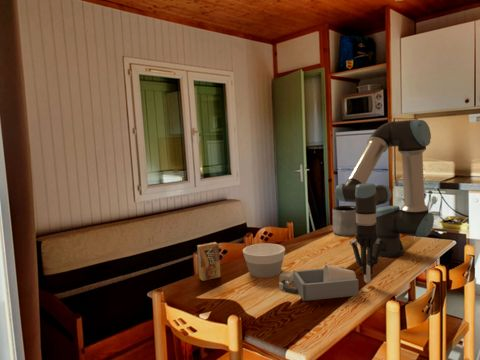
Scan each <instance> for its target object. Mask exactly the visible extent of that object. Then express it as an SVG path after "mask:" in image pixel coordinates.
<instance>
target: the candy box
mask: <svg viewBox="0 0 480 360" xmlns="http://www.w3.org/2000/svg"><path fill="white" fill-rule="evenodd" d="M219 245H220V244H219V243H217V242H216V241H214V242H209V243H203V244H198V245H196V248H197V250H196V251H197V265H198V266H197V267H198V276H199V277H198V279H199V280H201V281H208V280H212V279H217V278H221V264H220V263H221V262H220V247H219Z"/></svg>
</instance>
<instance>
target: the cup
mask: <svg viewBox="0 0 480 360" xmlns="http://www.w3.org/2000/svg"><path fill="white" fill-rule="evenodd" d="M339 267H340V266H334V265H330V264H328V263H327V264H325V265H324V267H323V268H324V271H323V282H329V281H339V280H350V279H357V276H356V272H355V271H354V270H351V269H347V268H344V269H343V268H339Z"/></svg>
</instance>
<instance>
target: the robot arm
mask: <svg viewBox="0 0 480 360" xmlns="http://www.w3.org/2000/svg"><path fill="white" fill-rule="evenodd" d="M431 135H432V133H431V128H430V126H429V125H428V122H426V121H425V120H423V119H409V120H408V119H407V120H398V121H397V120H396V121H394V120H393V121H392V120H391V121H389V122H386V123H384V124H382V125H380V126H379V127H377V128H376V129H375V130H374V131H373V133H372V134H371V135H369V138H368V139H367V142H366V145H367V146H366V148H365V149H364V150H363V153H362V154H361V156H360V158H359V160H358V161H357V162H356V165H355V166H354V168H353V169H352V171H351V173H350V175H349V177H348V178H347V179H346V181H345V183H340V184H338V185H336V187H335V190H334V196H335V197H336V198H335V199H337V201H340V202H345V203H355V206H356V222H357V224H356V234H357V235H355V238H354V240H352V241H351V240H350V241H349V244H350V246H351V247H352V250H353V254H354V258H355V261H356V262H355V263H356V264H357V265H358V266H360V267H361V274H362V275H363V281H364V282H365V283H366V284H371V282H372V281H371V280H372V279H371V278H372V277H371V275H372V274H373V268H374V266H375V265H378V262H379V257H384V258H385V257H387V258H388V257H389V258H390V257H391V258H392V257H396V258H397V257H400V256H402V255H403V256H404V254H405V249H404V245H403V243H402V240H401V236H400V235H405V236H411V237H417V238H418V237H419V238H426V237H429V235H430V234H431V232H432V230H433V228H434V223H435V216H434V213H432V212H430V211H429V206H427V205H426V204H425V185H424V184H425V183H424V182H425V181H424V180H425V179H424V159H423V155H424V154H423V153H424V152H425V151H426V150H427V146H430V144H431V139H432V136H431ZM391 147H395V148H397V151H398V152H399V153H400V154H401V160H402V163H401V165H402V185H403V199H404V200H403V201H404V202H403V205H402V206H401V208H400V206H399V205H387V206H386V205H385V206H380V207H377V206H379V205H383V204H386V203H387V202H389V201H390V200H391V198H392V197H393V196H392V195H393V194H392V190H391V188H390V187H389V186H387V185H385V184H378V185H375V184H374V183H368V180H369V178H370V176H371V175H372V173H373V171H374V169H375V168H376V165H377V164H378V162H379V160H380V159H381V156H382V154H384V153H385V152H386V151H387V150H388V148H391ZM358 245H359V246H360V251H359V248H358Z"/></svg>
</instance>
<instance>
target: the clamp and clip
mask: <svg viewBox="0 0 480 360" xmlns="http://www.w3.org/2000/svg"><path fill="white" fill-rule="evenodd" d="M283 280H287V281H285V284H286V285H287V286H288V287H291V285H290V284H291V283H293V272H288V271H283V272H282V273H280V274H279V282H278V289H280V291H284V289H283V283H281V282H282V281H283Z"/></svg>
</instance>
